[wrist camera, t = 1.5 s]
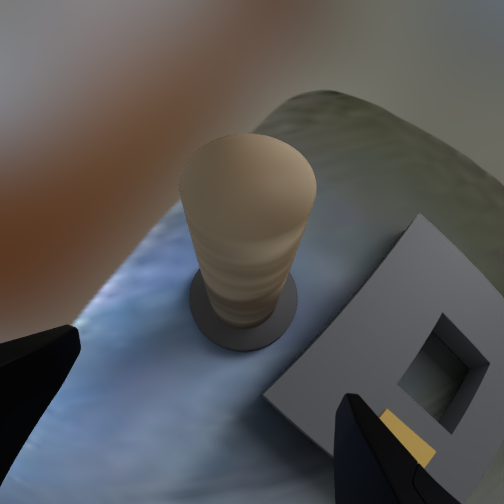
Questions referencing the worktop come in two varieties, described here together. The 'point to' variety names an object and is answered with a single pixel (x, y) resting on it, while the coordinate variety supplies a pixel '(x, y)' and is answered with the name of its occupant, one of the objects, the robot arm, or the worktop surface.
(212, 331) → the pad
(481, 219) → the worktop surface
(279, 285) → the beech peg
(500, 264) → the worktop surface
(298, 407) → the hole plate
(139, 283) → the worktop surface
